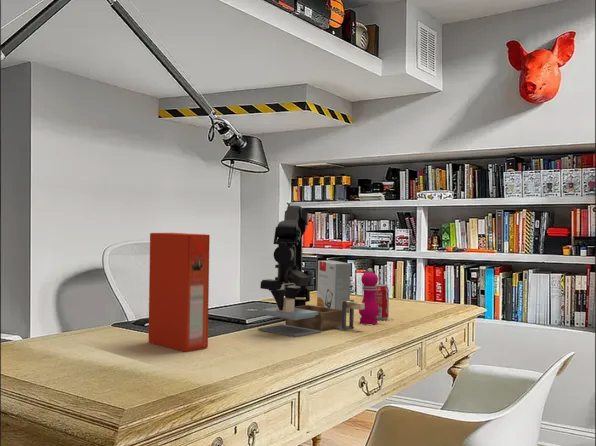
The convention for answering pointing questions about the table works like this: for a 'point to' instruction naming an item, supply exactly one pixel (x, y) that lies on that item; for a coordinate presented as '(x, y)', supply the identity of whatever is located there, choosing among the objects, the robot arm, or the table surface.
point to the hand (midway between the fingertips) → (285, 309)
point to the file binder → (179, 290)
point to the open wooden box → (324, 318)
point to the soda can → (382, 301)
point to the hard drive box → (333, 284)
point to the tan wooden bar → (355, 305)
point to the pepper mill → (369, 298)
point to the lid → (289, 311)
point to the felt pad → (289, 330)
